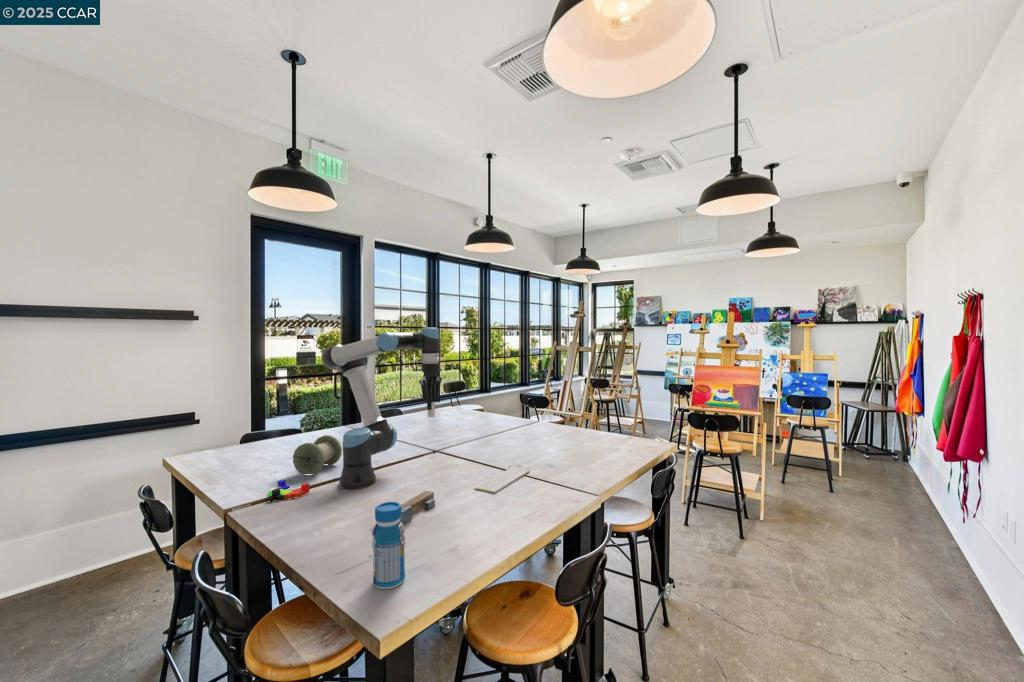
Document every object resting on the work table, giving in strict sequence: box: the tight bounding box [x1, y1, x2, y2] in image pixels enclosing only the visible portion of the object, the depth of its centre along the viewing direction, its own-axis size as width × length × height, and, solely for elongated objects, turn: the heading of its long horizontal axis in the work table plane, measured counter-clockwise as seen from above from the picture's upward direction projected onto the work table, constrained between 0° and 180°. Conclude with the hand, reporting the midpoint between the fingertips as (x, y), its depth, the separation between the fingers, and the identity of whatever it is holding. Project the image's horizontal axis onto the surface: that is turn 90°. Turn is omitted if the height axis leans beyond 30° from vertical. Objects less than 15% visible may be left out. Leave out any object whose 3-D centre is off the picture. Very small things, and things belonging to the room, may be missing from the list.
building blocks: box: [266, 479, 310, 503], centre depth 172 cm, size 15×13×4 cm
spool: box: [292, 434, 343, 475], centre depth 206 cm, size 16×15×15 cm
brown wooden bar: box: [400, 490, 435, 516], centre depth 158 cm, size 4×18×4 cm, turn 155°
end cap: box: [400, 506, 413, 525], centre depth 148 cm, size 8×8×4 cm
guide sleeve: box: [424, 498, 436, 511], centre depth 161 cm, size 8×4×2 cm, turn 63°
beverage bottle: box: [371, 501, 406, 590], centre depth 112 cm, size 8×8×20 cm
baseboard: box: [473, 464, 530, 495], centre depth 190 cm, size 31×3×12 cm
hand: (431, 416), depth 185 cm, fingers closed
